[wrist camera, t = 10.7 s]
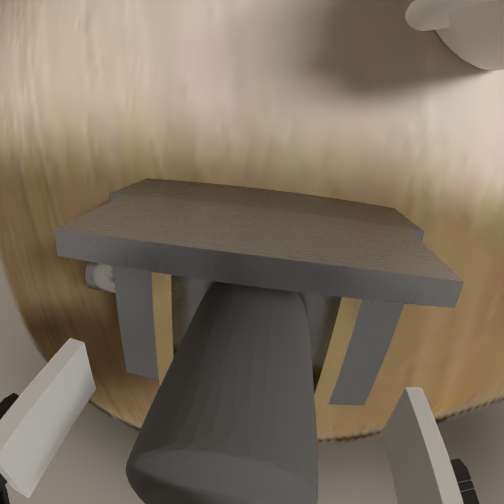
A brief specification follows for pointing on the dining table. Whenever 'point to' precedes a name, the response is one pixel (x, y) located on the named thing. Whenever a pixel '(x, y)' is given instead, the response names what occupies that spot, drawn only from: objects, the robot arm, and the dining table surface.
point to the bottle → (234, 407)
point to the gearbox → (258, 270)
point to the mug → (464, 28)
